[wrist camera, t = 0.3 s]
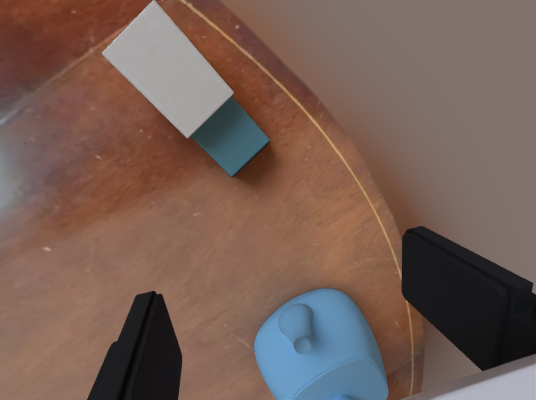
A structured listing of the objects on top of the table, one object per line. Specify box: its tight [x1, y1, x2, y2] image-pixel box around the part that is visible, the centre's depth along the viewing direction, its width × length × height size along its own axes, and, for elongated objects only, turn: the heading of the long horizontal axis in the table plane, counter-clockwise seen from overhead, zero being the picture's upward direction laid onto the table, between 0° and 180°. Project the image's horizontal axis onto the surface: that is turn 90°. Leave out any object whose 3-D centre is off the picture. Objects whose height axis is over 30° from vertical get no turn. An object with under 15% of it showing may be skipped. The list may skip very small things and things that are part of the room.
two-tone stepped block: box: [102, 0, 270, 177], centre depth 21 cm, size 12×5×5 cm, turn 42°
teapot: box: [254, 288, 388, 400], centre depth 27 cm, size 13×11×18 cm
